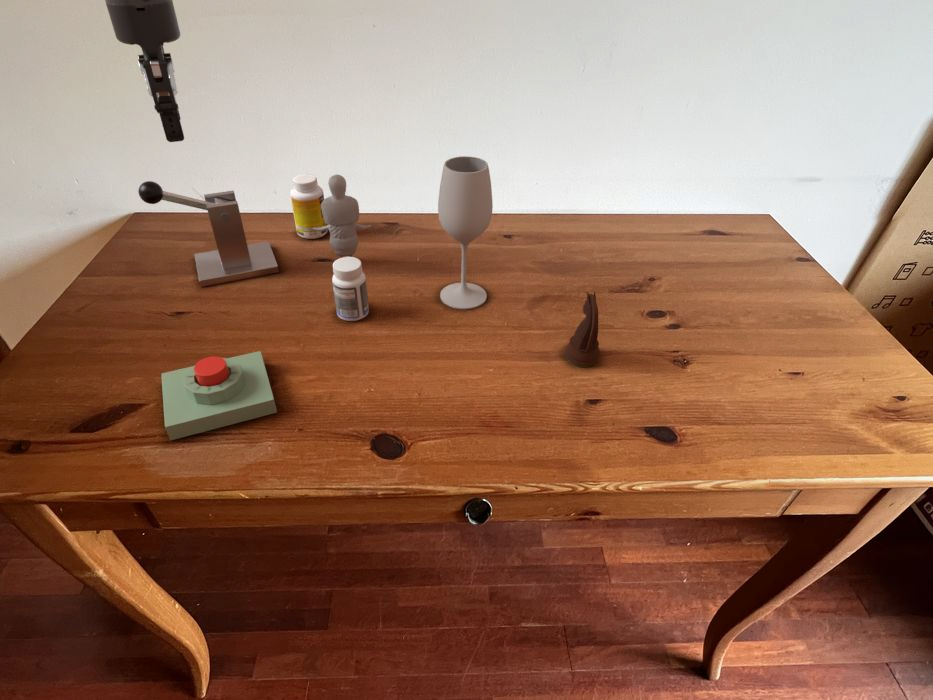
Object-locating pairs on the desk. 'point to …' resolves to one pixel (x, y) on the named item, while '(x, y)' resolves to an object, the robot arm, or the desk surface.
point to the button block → (216, 397)
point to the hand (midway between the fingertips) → (174, 130)
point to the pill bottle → (350, 289)
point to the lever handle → (170, 196)
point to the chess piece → (585, 337)
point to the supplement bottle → (307, 206)
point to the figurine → (341, 218)
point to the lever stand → (231, 247)
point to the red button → (211, 371)
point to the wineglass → (465, 219)
